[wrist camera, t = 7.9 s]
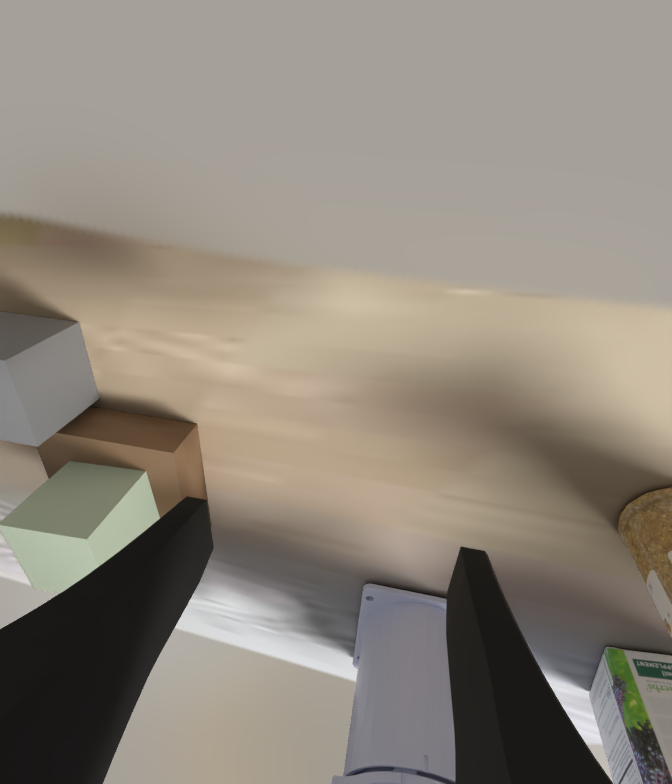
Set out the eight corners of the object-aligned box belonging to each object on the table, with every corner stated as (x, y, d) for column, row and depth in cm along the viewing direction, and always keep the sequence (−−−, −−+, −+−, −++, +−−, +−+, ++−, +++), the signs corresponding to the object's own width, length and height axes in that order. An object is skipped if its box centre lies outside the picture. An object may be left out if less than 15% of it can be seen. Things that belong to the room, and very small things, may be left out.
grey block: (100, 397, 24) (37, 446, 20) (28, 386, 24) (-46, 431, 21) (80, 321, 22) (5, 360, 18) (1, 310, 22) (-89, 346, 18)
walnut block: (214, 521, 28) (192, 559, 25) (102, 499, 29) (70, 534, 26) (200, 419, 24) (173, 453, 21) (70, 398, 25) (29, 428, 22)
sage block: (164, 532, 24) (114, 604, 21) (93, 521, 25) (33, 588, 21) (146, 471, 22) (86, 539, 18) (69, 461, 23) (-3, 524, 19)
